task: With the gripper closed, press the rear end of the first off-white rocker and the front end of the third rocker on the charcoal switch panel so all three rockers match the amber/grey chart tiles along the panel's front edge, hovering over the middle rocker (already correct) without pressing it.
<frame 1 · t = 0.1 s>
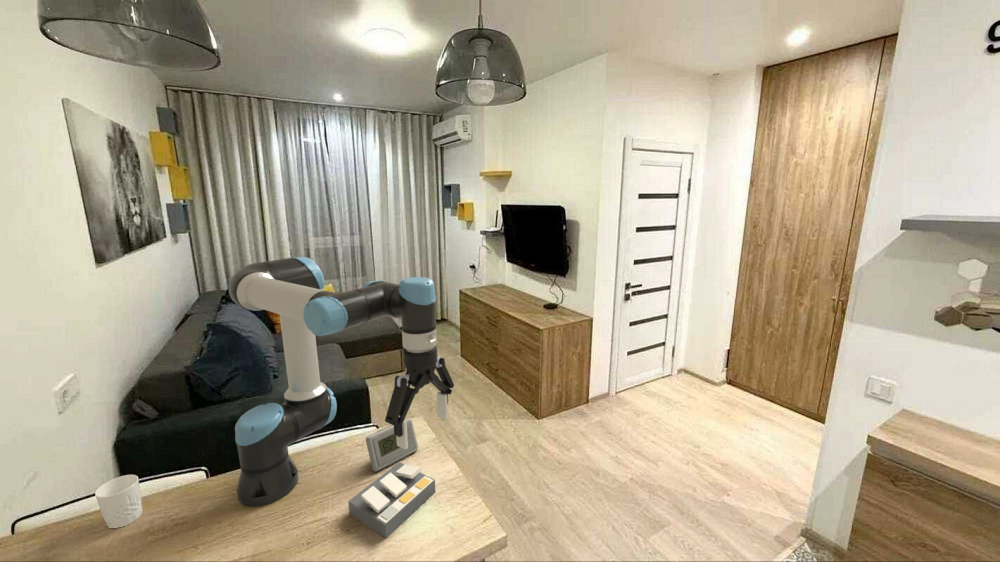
hand: (423, 431, 91), 28 cm above the table, fingers open, 13 cm apart
panel: (393, 502, 106), on the table
digital clock: (393, 458, 124), on the table
white cup: (125, 519, 101), on the table
switch 3: (408, 472, 110), point 5 cm above the table, hinge at -14.0°
switch 1: (375, 499, 100), point 5 cm above the table, hinge at 14.0°
switch 2: (393, 485, 105), point 5 cm above the table, hinge at 14.0°
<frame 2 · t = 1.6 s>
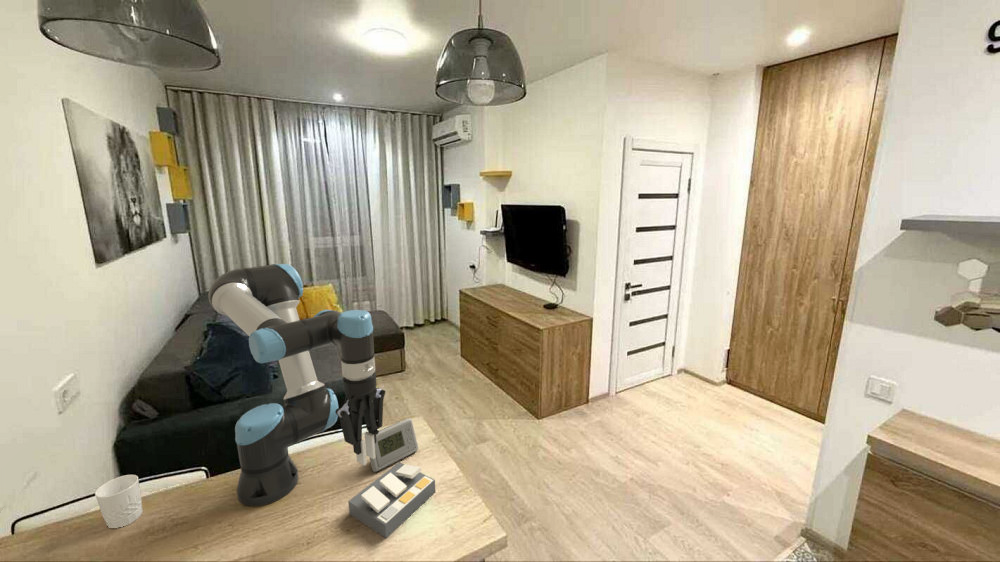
hand: (366, 459, 99), 16 cm above the table, fingers open, 2 cm apart
nothing on the table moved.
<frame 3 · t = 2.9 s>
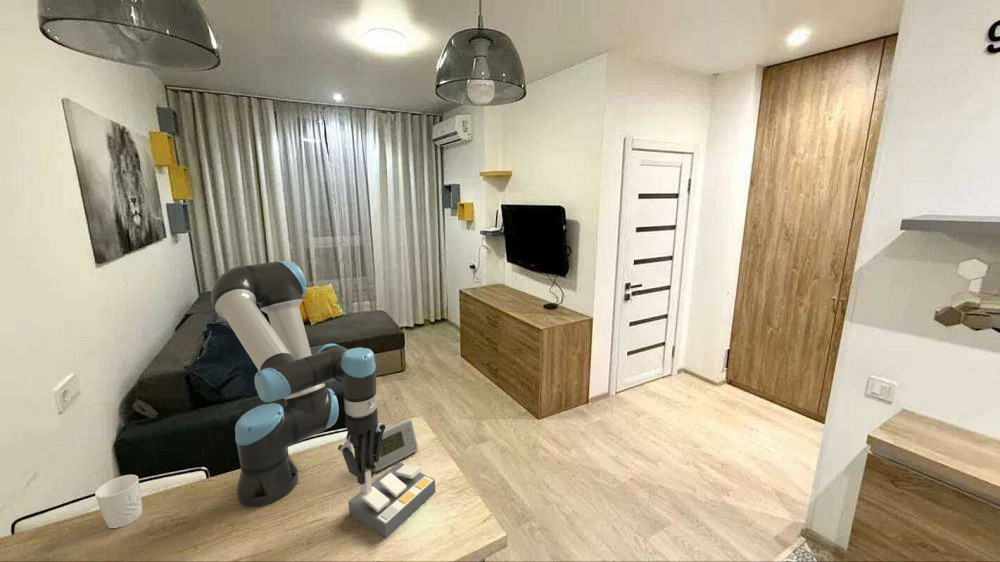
hand: (366, 490, 101), 7 cm above the table, fingers closed
switch 1: (375, 499, 100), point 5 cm above the table, hinge at 10.0°, touching gripper
everything else where it was.
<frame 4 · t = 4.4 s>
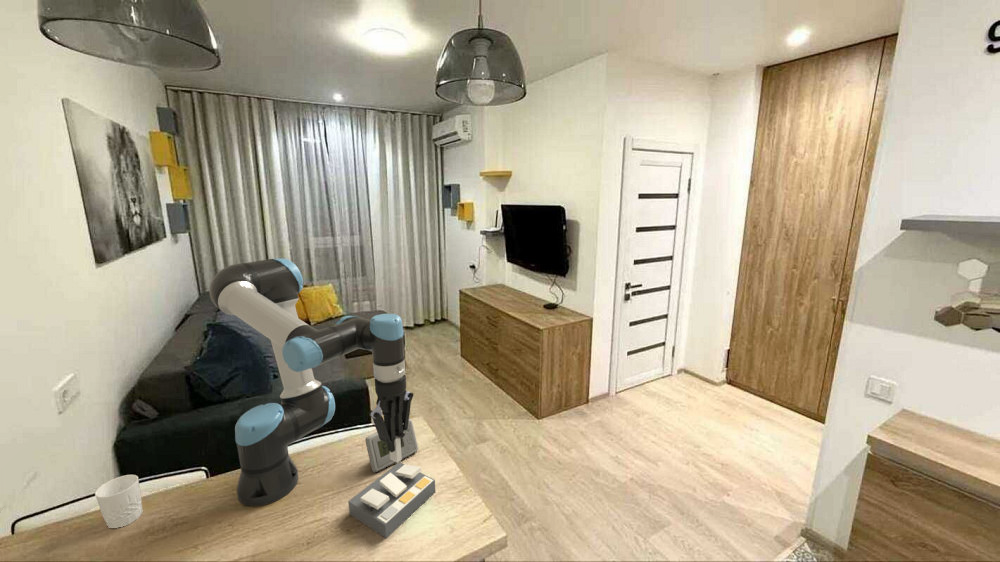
hand: (395, 459, 101), 15 cm above the table, fingers closed
switch 1: (375, 499, 100), point 5 cm above the table, hinge at -5.1°
everything else where it was.
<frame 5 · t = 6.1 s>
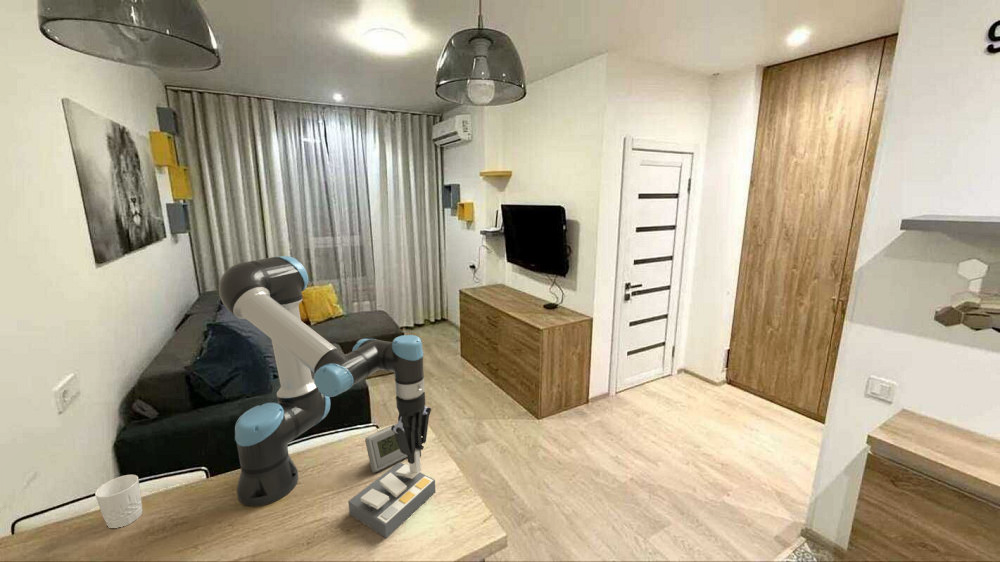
hand: (415, 470, 108), 7 cm above the table, fingers closed
switch 3: (408, 472, 110), point 5 cm above the table, hinge at -13.9°, touching gripper
switch 1: (375, 499, 100), point 5 cm above the table, hinge at -5.7°
everything else where it was.
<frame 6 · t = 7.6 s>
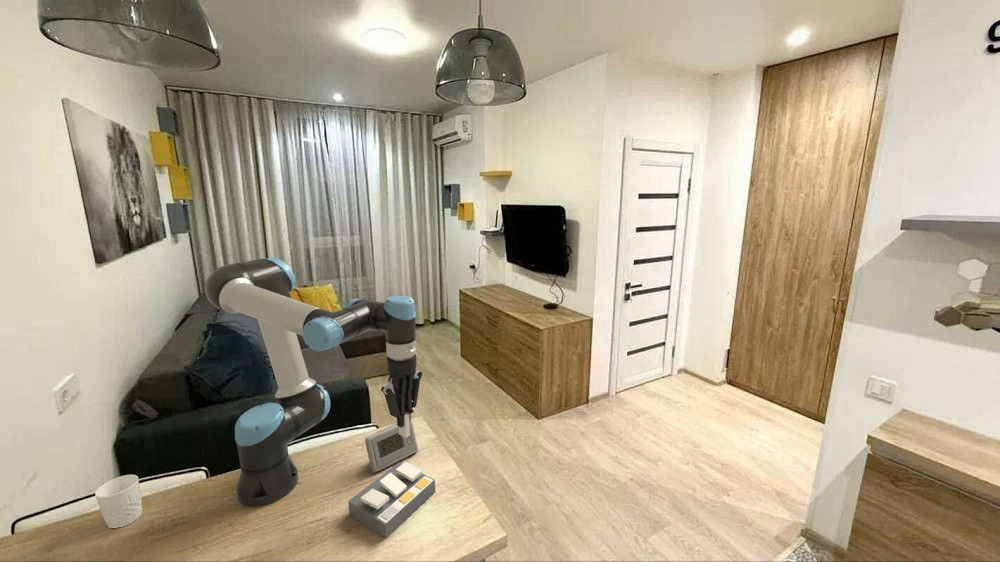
hand: (404, 434, 106), 18 cm above the table, fingers closed
switch 3: (408, 472, 110), point 5 cm above the table, hinge at 2.1°
everything else where it was.
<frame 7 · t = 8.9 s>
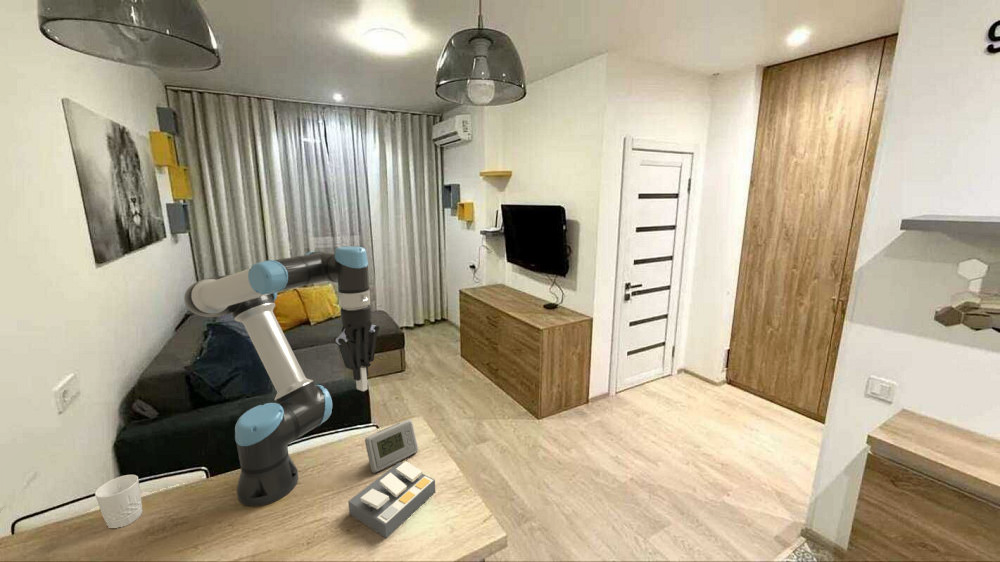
hand: (362, 389, 106), 30 cm above the table, fingers closed
switch 3: (409, 472, 110), point 5 cm above the table, hinge at 6.3°
everything else where it was.
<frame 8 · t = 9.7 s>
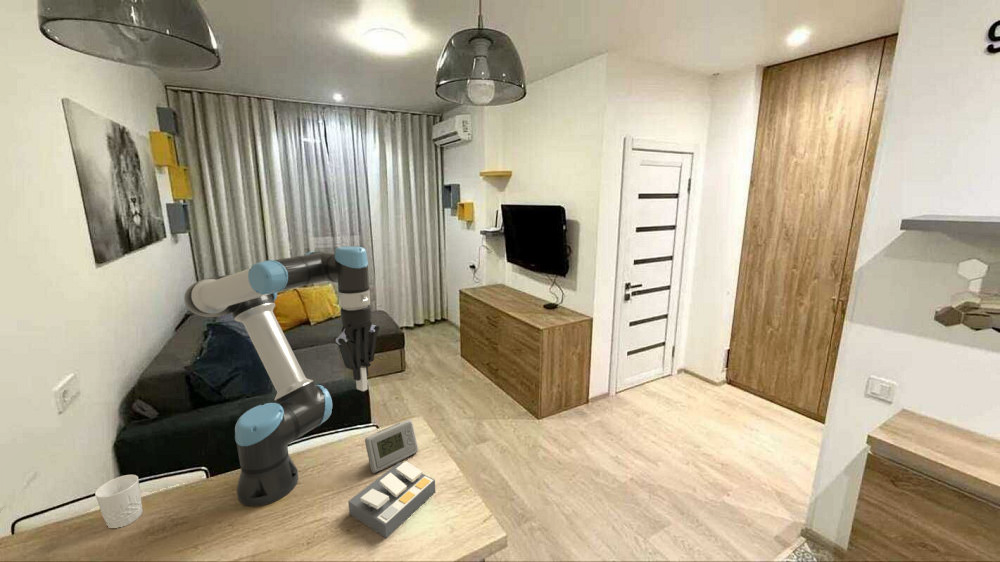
hand: (362, 389, 106), 30 cm above the table, fingers closed
switch 3: (409, 472, 110), point 5 cm above the table, hinge at 7.5°
everything else where it was.
at the end: switch 1 at -6° (first picture: +14°); switch 2 at +14° (first picture: +14°); switch 3 at +8° (first picture: -14°) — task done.
